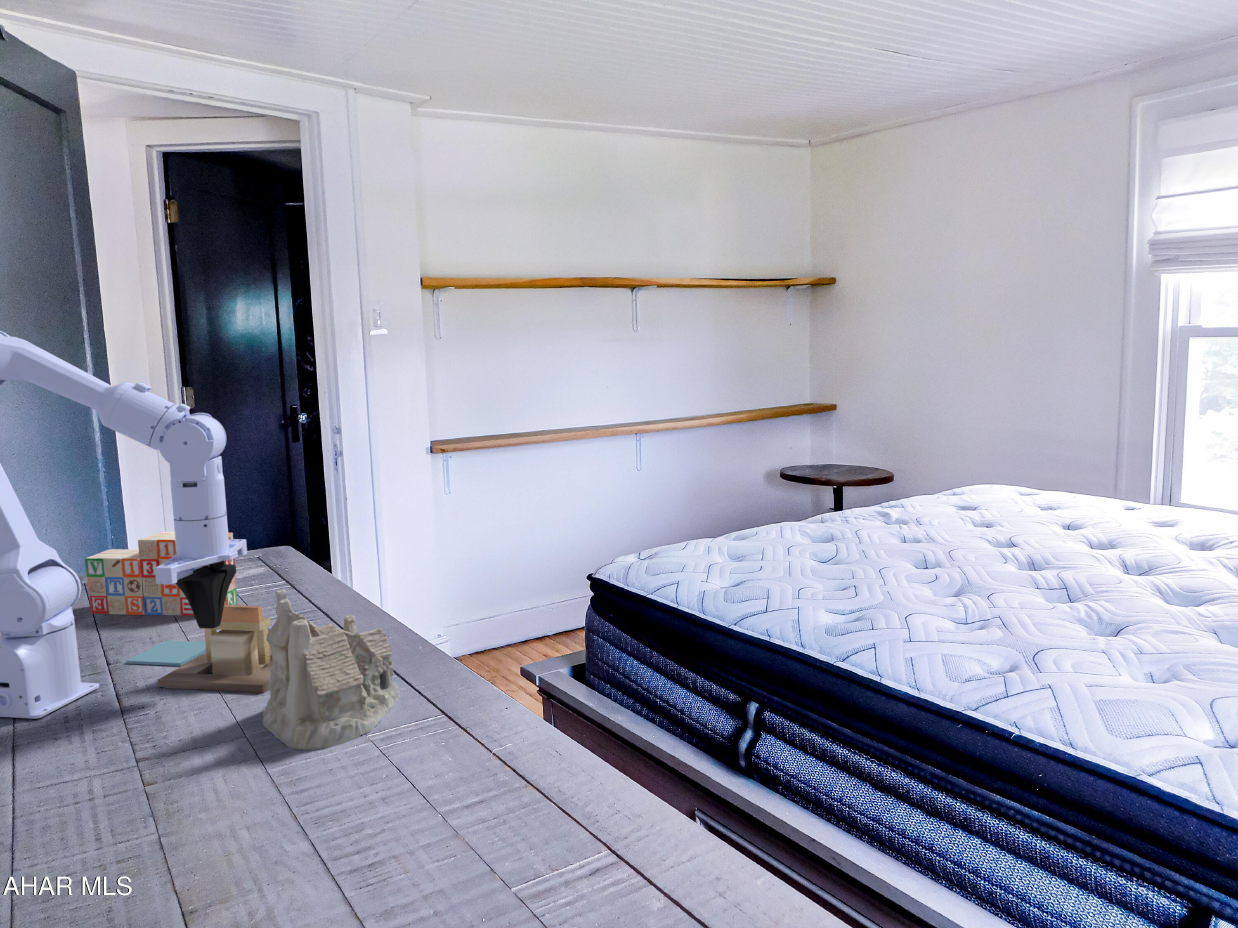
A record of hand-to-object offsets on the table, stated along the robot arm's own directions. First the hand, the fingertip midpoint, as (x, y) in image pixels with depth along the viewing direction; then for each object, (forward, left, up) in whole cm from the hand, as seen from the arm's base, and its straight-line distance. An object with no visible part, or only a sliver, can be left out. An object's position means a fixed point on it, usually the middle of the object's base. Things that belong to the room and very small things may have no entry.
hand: (209, 626), depth 105 cm
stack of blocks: (+29, +28, -8) cm, 42 cm away
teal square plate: (+10, +13, -8) cm, 18 cm away
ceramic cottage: (-5, -19, -8) cm, 21 cm away
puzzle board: (+9, 0, -8) cm, 12 cm away
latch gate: (+5, 0, -6) cm, 8 cm away
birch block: (+5, 0, -8) cm, 9 cm away
